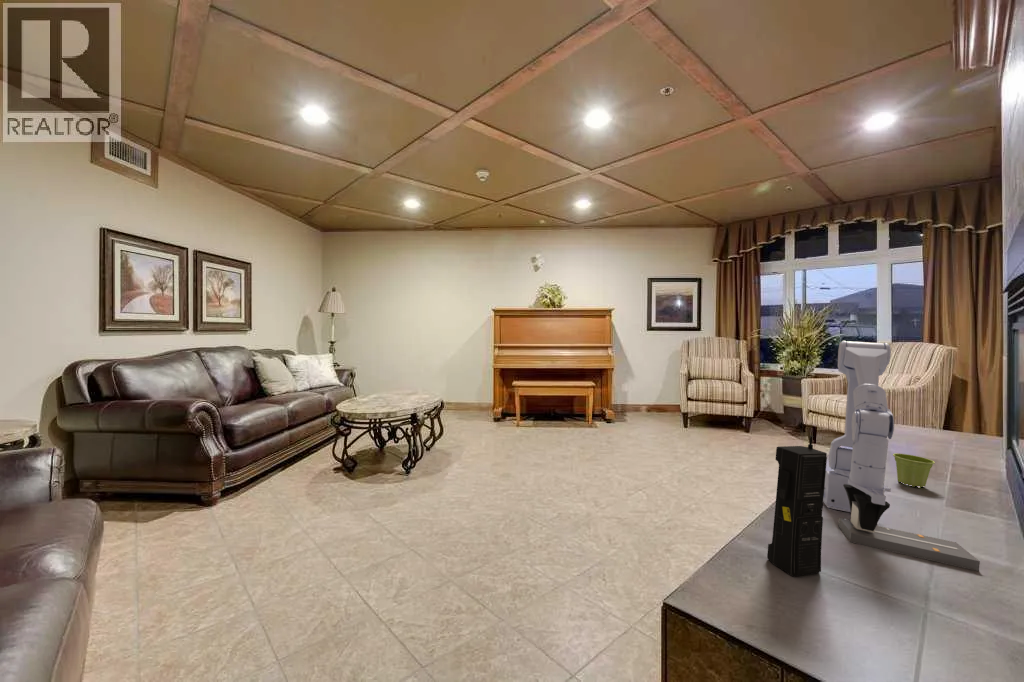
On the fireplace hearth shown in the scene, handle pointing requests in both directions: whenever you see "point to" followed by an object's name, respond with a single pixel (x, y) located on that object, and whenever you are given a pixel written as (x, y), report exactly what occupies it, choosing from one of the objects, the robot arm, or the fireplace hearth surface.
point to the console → (911, 545)
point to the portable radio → (798, 510)
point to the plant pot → (912, 469)
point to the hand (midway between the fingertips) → (862, 523)
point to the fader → (856, 517)
